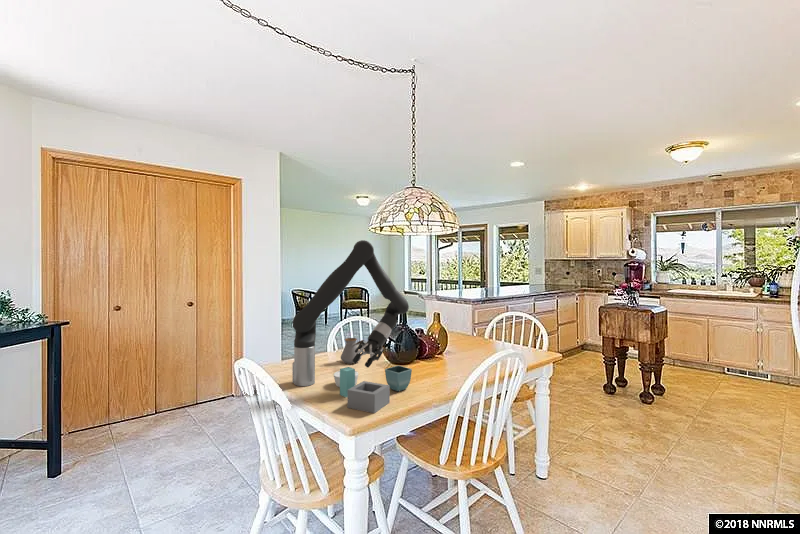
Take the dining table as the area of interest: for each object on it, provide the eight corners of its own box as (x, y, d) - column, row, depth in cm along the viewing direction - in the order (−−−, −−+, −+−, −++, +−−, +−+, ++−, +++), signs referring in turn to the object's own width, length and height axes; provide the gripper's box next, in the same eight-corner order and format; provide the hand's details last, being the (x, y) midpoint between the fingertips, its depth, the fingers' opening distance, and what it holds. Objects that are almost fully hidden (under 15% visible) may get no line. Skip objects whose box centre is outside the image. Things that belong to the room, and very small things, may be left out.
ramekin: (334, 389, 171) (334, 377, 171) (332, 382, 182) (332, 370, 182) (360, 387, 174) (360, 376, 174) (356, 380, 185) (356, 369, 185)
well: (347, 407, 150) (347, 389, 150) (363, 397, 161) (363, 381, 161) (374, 413, 145) (374, 394, 145) (389, 402, 156) (389, 385, 156)
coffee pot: (337, 361, 219) (337, 334, 218) (355, 358, 225) (355, 332, 224) (353, 370, 200) (353, 341, 200) (373, 367, 207) (373, 339, 206)
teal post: (339, 394, 165) (339, 368, 165) (348, 392, 168) (348, 366, 168) (346, 397, 162) (346, 371, 161) (354, 394, 165) (354, 369, 164)
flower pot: (384, 389, 172) (384, 368, 172) (398, 384, 178) (398, 365, 178) (397, 394, 166) (398, 373, 166) (412, 389, 172) (412, 369, 172)
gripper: (365, 327, 180) (345, 356, 172) (386, 331, 170) (365, 362, 162) (374, 337, 184) (354, 366, 176) (395, 342, 174) (375, 372, 166)
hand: (360, 364), depth 169 cm, fingers open, 8 cm apart
